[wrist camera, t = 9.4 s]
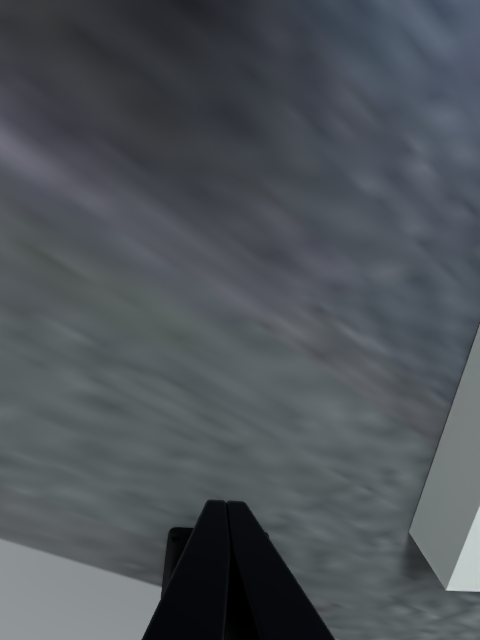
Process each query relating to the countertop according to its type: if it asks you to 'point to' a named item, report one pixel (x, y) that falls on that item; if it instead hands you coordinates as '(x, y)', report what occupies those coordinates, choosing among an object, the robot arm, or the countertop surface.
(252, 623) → the robot arm
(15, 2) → the countertop surface
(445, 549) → the keypad
